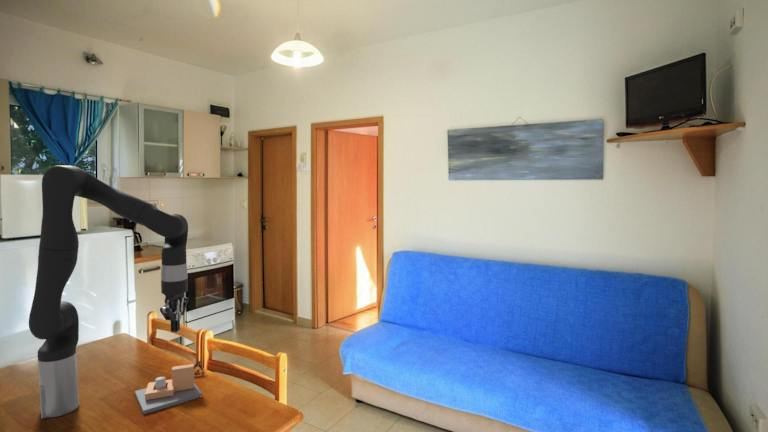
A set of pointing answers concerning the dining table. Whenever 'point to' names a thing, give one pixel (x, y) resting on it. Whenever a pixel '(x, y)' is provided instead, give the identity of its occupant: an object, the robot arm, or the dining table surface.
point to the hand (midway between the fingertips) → (175, 331)
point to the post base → (168, 401)
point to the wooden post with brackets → (198, 366)
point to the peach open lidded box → (173, 383)
